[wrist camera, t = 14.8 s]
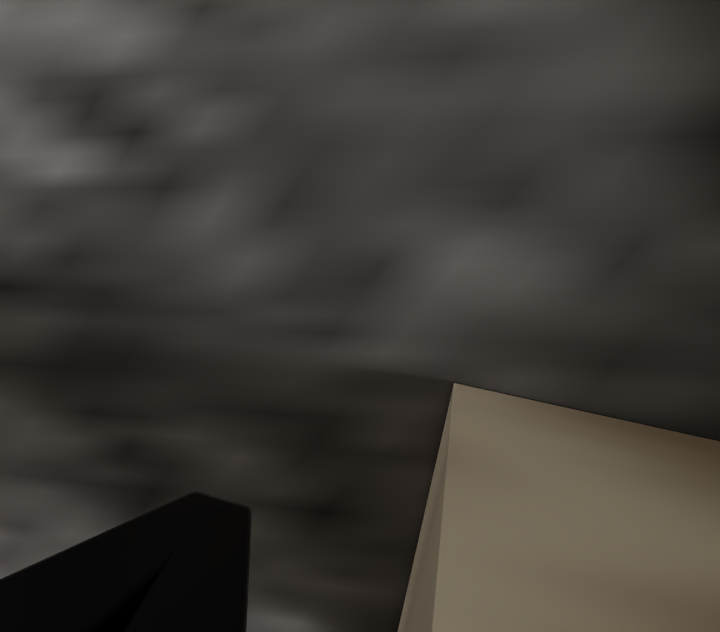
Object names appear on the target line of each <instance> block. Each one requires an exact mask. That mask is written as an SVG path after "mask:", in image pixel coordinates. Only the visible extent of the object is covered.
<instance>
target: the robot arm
mask: <svg viewBox="0 0 720 632" xmlns="http://www.w3.org/2000/svg"><path fill="white" fill-rule="evenodd" d="M250 537H251V508H250V507H249V506H246V505H243V504H240V503H236V502H233V501H229V500H226V499H223V498H219V497H216V496H212V495H209V494H206V493H202V492H192V493H189V494H187V495H185V496H183V497H180V498H178V499H176V500H174V501H172V502H169V503H167V504H165V505H163V506H161V507H158V508H156V509H154V510H152V511H150V512H147V513H145V514H143V515H141V516H139V517H136V518H134V519H132V520H130V521H128V522H125V523H123V524H121V525H119V526H117V527H114V528H112V529H110V530H108V531H106V532H103V533H101V534H99V535H97V536H95V537H92V538H90V539H88V540H86V541H84V542H81V543H79V544H77V545H75V546H73V547H70V548H68V549H66V550H64V551H62V552H59V553H57V554H55V555H53V556H51V557H48V558H46V559H44V560H42V561H40V562H37V563H35V564H33V565H31V566H29V567H26V568H24V569H22V570H20V571H18V572H15V573H13V574H11V575H9V576H7V577H4V578H2V579H0V632H246V628H247V605H248V582H249V559H250Z"/></svg>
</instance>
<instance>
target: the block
mask: <svg viewBox="0 0 720 632" xmlns="http://www.w3.org/2000/svg"><path fill="white" fill-rule="evenodd" d="M398 632H720V441H715V440H711V439H706V438H702V437H697V436H693V435H688V434H684V433H679V432H674V431H670V430H665V429H661V428H656V427H652V426H647V425H643V424H638V423H634V422H629V421H624V420H620V419H615V418H611V417H606V416H602V415H597V414H593V413H588V412H583V411H579V410H574V409H570V408H565V407H561V406H556V405H552V404H547V403H543V402H538V401H533V400H529V399H524V398H520V397H515V396H511V395H506V394H502V393H497V392H493V391H488V390H483V389H479V388H474V387H470V386H465V385H461V384H456V383H454V386H453V390H452V394H451V399H450V403H449V408H448V412H447V416H446V421H445V425H444V430H443V434H442V438H441V443H440V447H439V452H438V456H437V460H436V465H435V469H434V474H433V478H432V482H431V487H430V491H429V496H428V500H427V504H426V509H425V513H424V518H423V522H422V526H421V531H420V535H419V540H418V544H417V549H416V553H415V557H414V562H413V566H412V571H411V575H410V579H409V584H408V588H407V593H406V597H405V601H404V606H403V610H402V615H401V619H400V623H399V628H398Z"/></svg>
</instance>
